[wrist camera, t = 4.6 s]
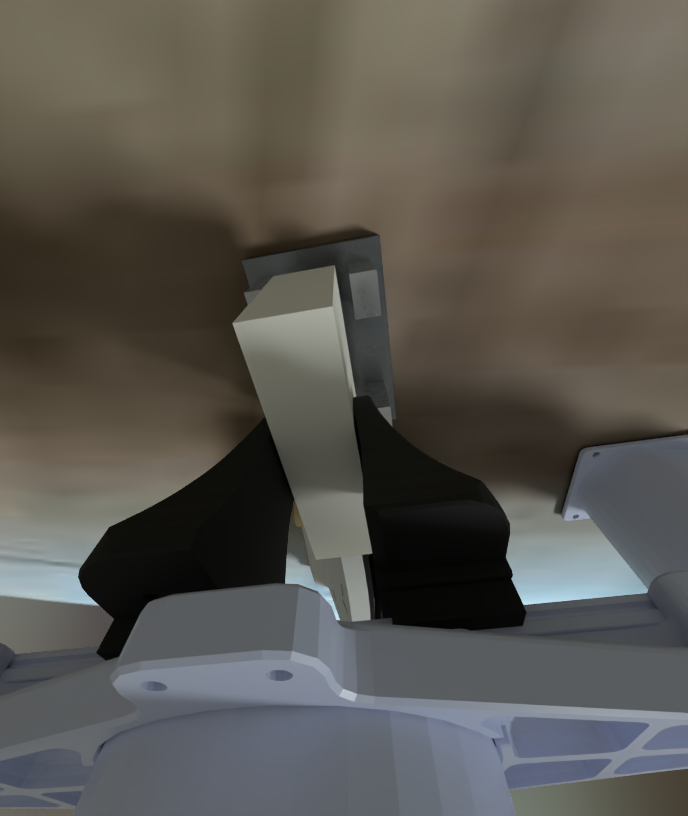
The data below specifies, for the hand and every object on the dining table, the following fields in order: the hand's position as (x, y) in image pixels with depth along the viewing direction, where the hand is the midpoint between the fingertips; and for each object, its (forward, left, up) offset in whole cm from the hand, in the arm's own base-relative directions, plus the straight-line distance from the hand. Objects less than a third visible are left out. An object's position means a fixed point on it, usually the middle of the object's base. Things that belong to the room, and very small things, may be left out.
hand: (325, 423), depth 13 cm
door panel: (0, 0, -3) cm, 4 cm away
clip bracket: (0, 0, -8) cm, 8 cm away
